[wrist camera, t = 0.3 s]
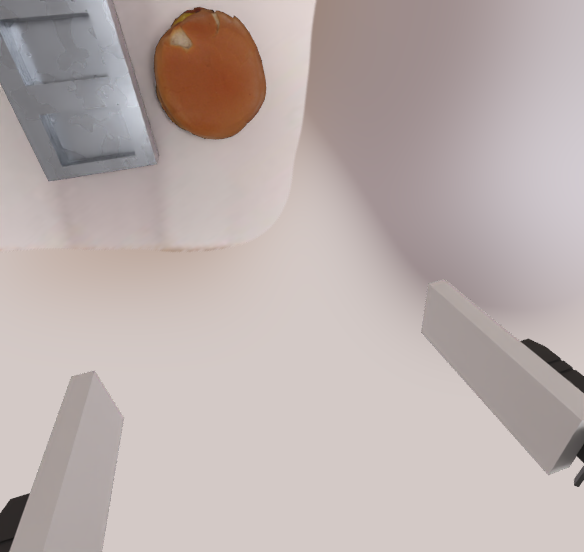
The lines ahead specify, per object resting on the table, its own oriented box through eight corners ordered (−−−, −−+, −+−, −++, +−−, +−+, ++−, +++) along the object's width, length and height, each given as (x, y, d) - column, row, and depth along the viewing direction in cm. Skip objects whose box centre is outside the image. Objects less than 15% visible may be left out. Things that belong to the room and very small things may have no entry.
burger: (230, 152, 35) (236, 162, 31) (138, 100, 31) (132, 104, 27) (278, 57, 32) (291, 55, 28) (183, -16, 28) (183, -30, 24)
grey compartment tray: (-140, -262, 19) (-198, -321, 16) (36, -254, 20) (12, -306, 18) (60, 171, 32) (48, 181, 29) (159, 155, 34) (156, 164, 31)
